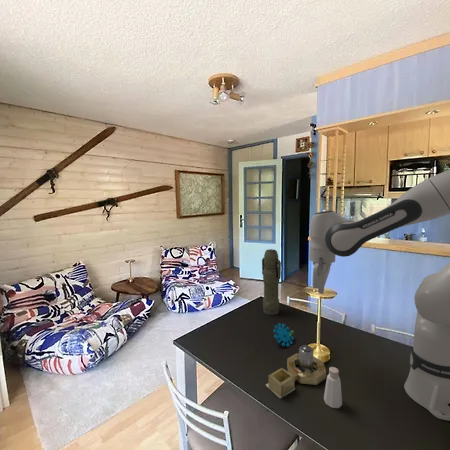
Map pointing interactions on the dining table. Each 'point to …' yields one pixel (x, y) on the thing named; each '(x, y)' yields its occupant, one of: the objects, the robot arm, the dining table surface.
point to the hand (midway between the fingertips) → (321, 292)
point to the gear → (283, 335)
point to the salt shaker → (333, 389)
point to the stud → (305, 358)
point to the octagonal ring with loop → (295, 375)
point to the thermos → (271, 281)
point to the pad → (278, 395)
